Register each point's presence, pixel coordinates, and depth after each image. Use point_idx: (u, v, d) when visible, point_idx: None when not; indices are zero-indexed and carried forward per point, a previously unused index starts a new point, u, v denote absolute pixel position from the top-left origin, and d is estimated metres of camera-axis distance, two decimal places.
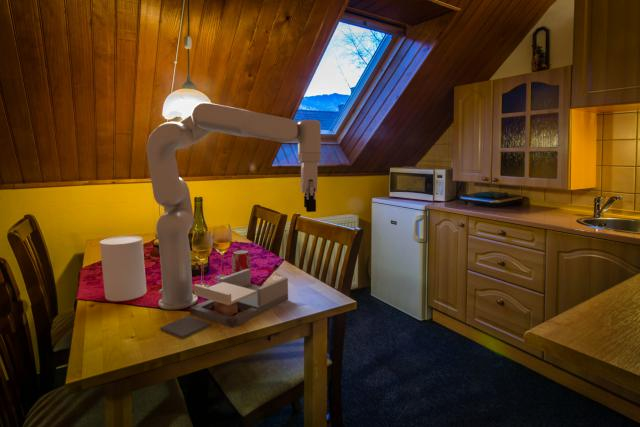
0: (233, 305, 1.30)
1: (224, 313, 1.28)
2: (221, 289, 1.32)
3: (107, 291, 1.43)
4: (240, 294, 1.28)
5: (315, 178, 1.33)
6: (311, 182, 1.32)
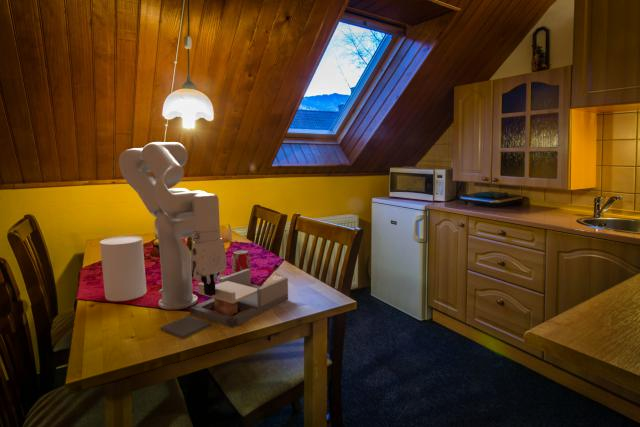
0: (233, 305, 1.30)
1: (224, 313, 1.28)
2: (225, 288, 1.33)
3: (107, 291, 1.43)
4: (244, 292, 1.29)
5: None
6: None
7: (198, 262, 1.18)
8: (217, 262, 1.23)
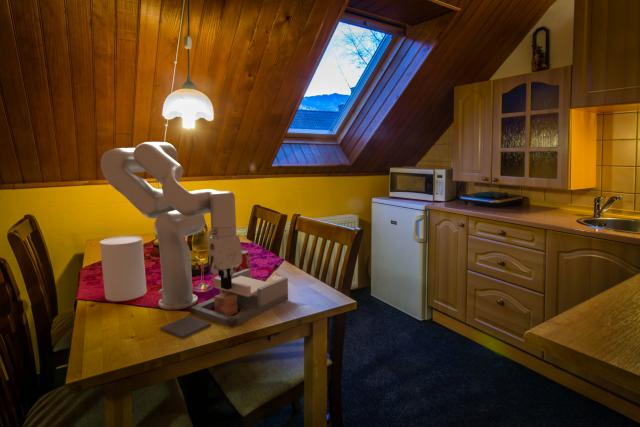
0: (233, 305, 1.30)
1: (224, 313, 1.28)
2: (239, 282, 1.39)
3: (107, 291, 1.43)
4: (258, 286, 1.34)
5: None
6: None
7: (216, 257, 1.24)
8: (233, 257, 1.28)
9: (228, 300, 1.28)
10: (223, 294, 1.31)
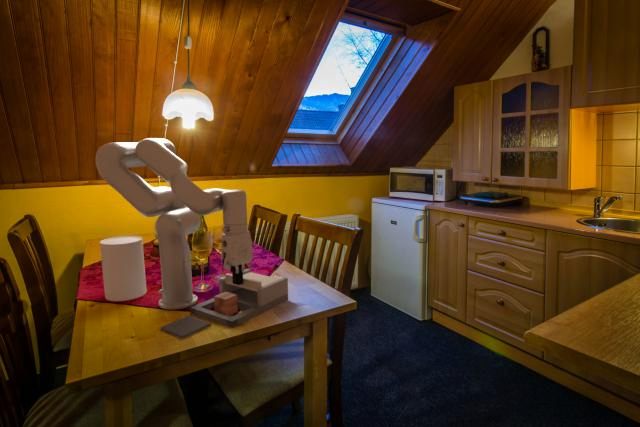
0: (233, 305, 1.30)
1: (224, 313, 1.28)
2: (250, 278, 1.43)
3: (107, 291, 1.43)
4: (268, 282, 1.38)
5: None
6: None
7: (228, 253, 1.27)
8: (245, 253, 1.32)
9: (228, 300, 1.28)
10: (224, 294, 1.31)
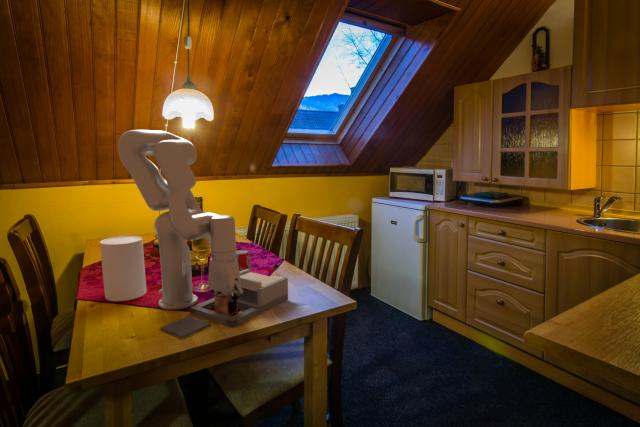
0: None
1: (224, 313, 1.28)
2: (250, 278, 1.43)
3: (107, 291, 1.43)
4: (268, 282, 1.38)
5: (239, 276, 1.28)
6: (237, 284, 1.27)
7: None
8: (220, 283, 1.27)
9: (228, 299, 1.28)
10: (224, 294, 1.31)
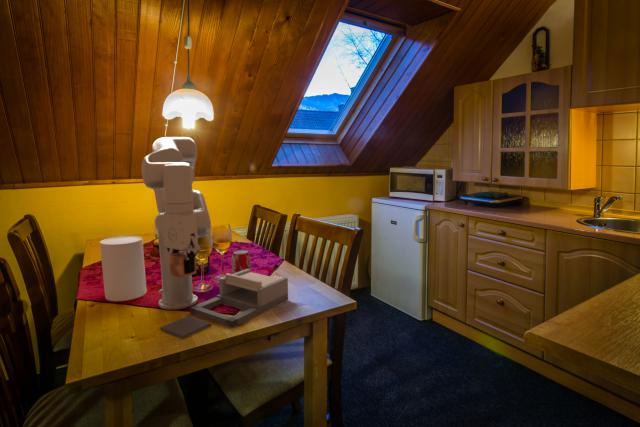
0: None
1: (180, 273, 1.15)
2: (250, 278, 1.43)
3: (107, 291, 1.43)
4: (268, 282, 1.38)
5: (196, 231, 1.15)
6: (194, 240, 1.14)
7: None
8: (175, 238, 1.14)
9: (184, 258, 1.15)
10: (180, 253, 1.18)
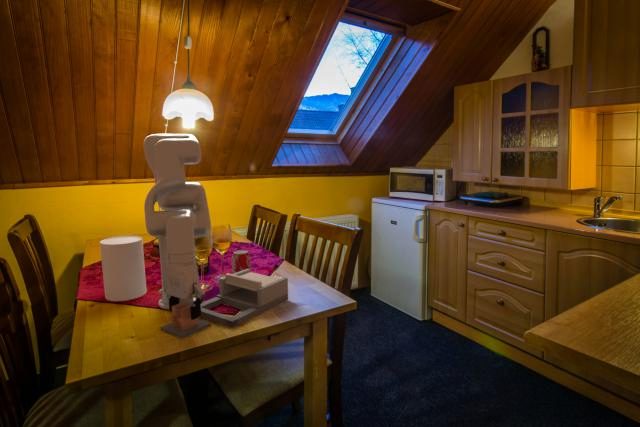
0: None
1: (182, 325, 1.18)
2: (250, 278, 1.43)
3: (107, 291, 1.43)
4: (268, 282, 1.38)
5: (198, 280, 1.17)
6: (197, 286, 1.15)
7: None
8: (177, 287, 1.16)
9: (186, 310, 1.18)
10: (182, 304, 1.21)
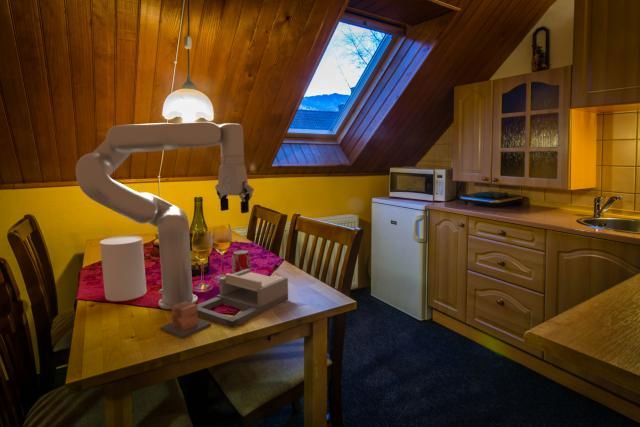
0: (192, 316, 1.20)
1: (182, 325, 1.18)
2: (250, 278, 1.43)
3: (107, 291, 1.43)
4: (268, 282, 1.38)
5: (246, 180, 1.38)
6: (246, 184, 1.36)
7: None
8: (229, 185, 1.37)
9: (186, 310, 1.18)
10: (182, 304, 1.21)
